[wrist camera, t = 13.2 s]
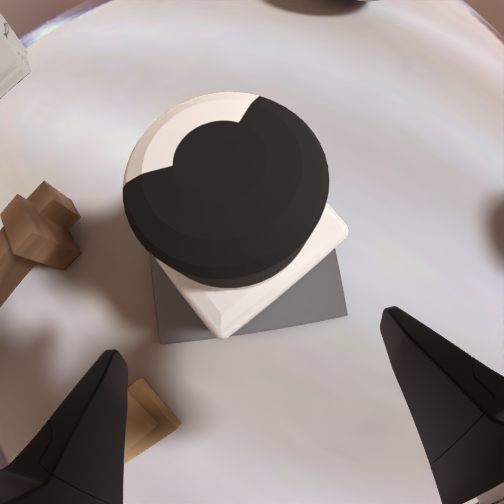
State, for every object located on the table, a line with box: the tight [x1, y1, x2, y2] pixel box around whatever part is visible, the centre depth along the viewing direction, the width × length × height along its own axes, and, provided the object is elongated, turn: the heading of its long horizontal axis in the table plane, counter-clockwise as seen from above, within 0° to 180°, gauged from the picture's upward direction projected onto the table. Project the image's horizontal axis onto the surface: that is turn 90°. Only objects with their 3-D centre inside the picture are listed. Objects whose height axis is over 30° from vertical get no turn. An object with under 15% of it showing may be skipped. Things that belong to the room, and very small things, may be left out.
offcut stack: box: [124, 378, 181, 463], centre depth 16 cm, size 4×14×2 cm, turn 131°
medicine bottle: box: [123, 92, 348, 339], centre depth 13 cm, size 7×7×12 cm
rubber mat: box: [150, 248, 348, 344], centre depth 20 cm, size 12×12×1 cm
